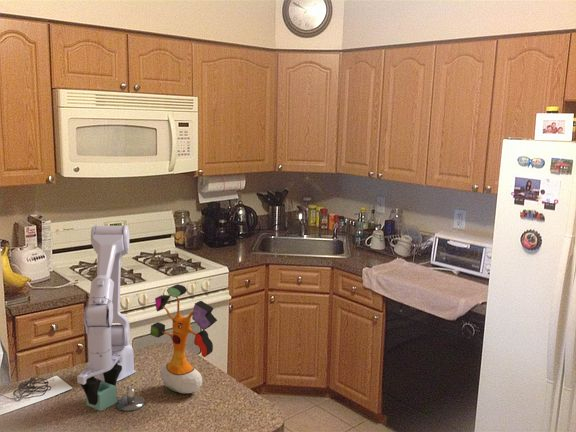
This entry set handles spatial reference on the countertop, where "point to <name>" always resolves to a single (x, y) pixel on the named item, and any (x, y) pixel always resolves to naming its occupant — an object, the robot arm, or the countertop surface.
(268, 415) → the countertop surface
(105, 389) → the collar
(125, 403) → the post
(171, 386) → the decorative sculpture
